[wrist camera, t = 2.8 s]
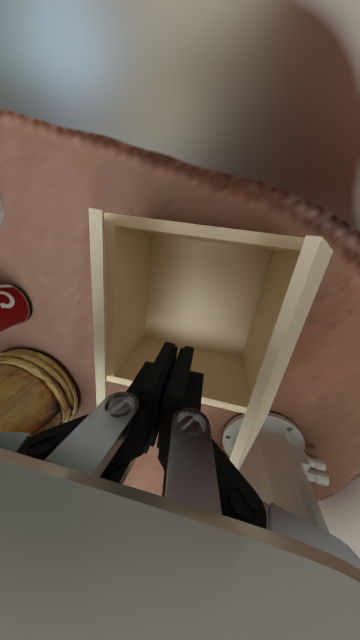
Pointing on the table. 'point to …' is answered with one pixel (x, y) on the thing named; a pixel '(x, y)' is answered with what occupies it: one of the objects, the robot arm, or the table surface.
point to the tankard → (34, 392)
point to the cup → (1, 212)
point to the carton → (194, 299)
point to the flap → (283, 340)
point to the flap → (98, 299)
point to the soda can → (12, 307)
